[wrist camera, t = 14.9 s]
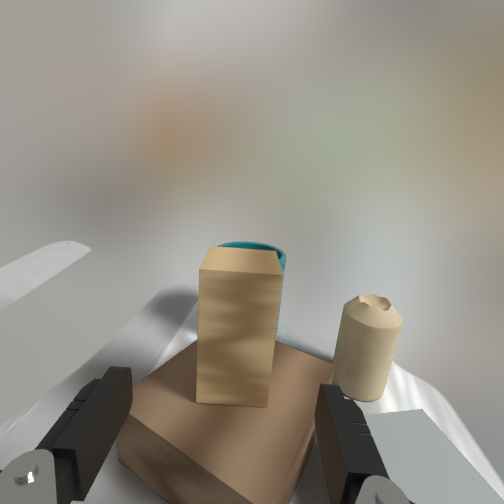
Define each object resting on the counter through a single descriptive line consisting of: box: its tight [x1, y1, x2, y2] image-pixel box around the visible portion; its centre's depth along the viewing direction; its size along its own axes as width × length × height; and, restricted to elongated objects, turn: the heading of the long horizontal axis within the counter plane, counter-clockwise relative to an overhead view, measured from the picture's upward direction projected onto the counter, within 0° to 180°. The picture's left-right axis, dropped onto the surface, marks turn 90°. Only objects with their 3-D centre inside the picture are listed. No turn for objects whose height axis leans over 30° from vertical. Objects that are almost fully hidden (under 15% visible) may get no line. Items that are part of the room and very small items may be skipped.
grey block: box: [364, 409, 504, 504], centre depth 19 cm, size 7×7×5 cm
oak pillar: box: [196, 246, 283, 407], centre depth 21 cm, size 5×5×10 cm
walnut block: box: [116, 339, 336, 504], centre depth 23 cm, size 12×13×6 cm
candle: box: [332, 294, 403, 402], centre depth 29 cm, size 6×6×10 cm
